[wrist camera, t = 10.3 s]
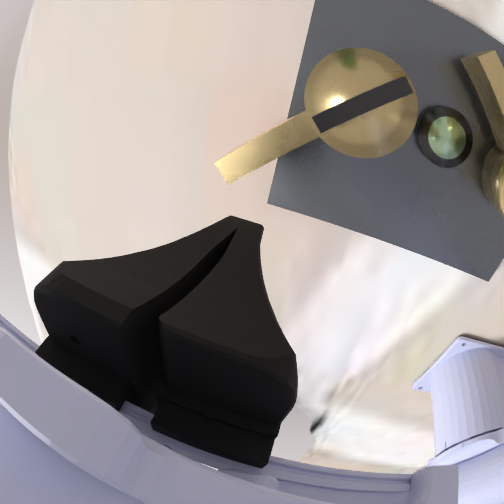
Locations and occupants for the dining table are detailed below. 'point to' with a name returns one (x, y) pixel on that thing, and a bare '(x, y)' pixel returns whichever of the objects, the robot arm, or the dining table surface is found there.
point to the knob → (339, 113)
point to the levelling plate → (416, 146)
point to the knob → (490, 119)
